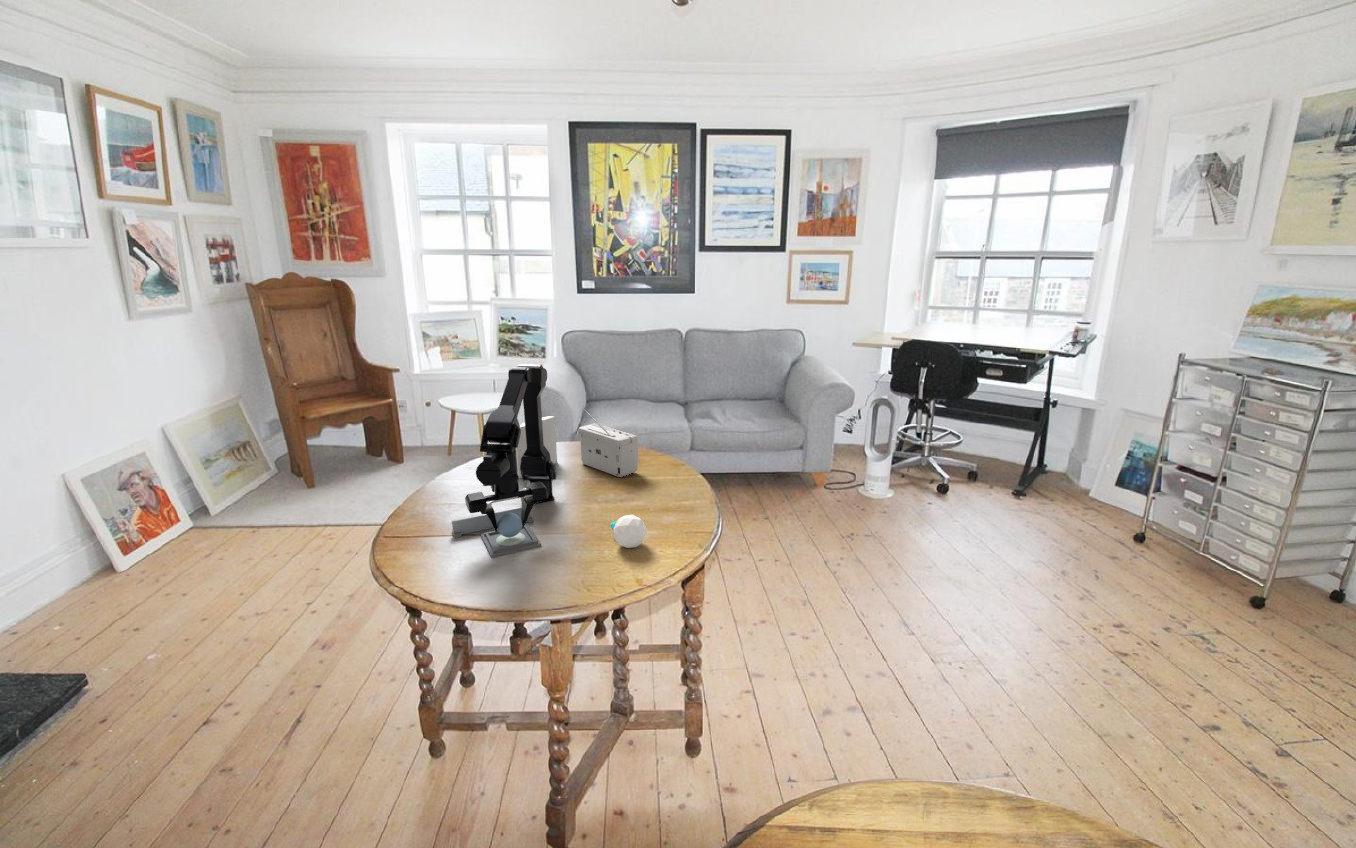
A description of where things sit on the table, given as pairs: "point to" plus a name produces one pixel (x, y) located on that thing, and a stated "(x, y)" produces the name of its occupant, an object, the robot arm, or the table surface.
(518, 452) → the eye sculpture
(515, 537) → the gray square tray
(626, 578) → the table surface
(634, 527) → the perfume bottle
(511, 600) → the table surface
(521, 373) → the robot arm
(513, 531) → the ball
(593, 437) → the stereo radio cassette player
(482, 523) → the long gray bar
